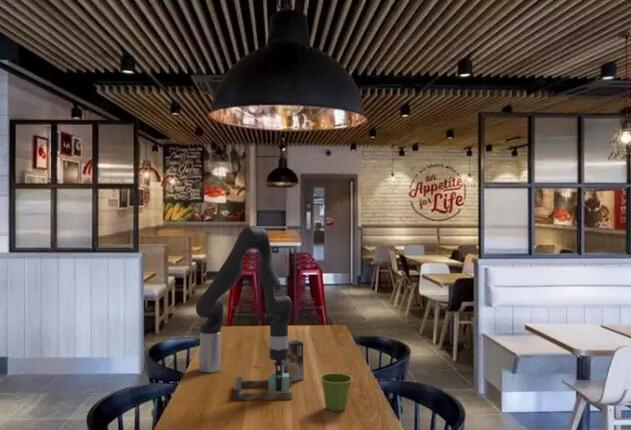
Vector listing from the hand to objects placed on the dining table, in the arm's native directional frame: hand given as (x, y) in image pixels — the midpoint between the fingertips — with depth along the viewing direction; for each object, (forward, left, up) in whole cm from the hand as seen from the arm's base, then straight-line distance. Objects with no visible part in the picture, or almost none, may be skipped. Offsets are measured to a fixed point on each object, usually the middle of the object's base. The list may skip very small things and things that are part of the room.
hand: (278, 387), depth 226 cm
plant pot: (+21, -19, -2) cm, 28 cm away
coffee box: (+5, +17, -2) cm, 18 cm away
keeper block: (0, 0, -2) cm, 2 cm away
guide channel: (-6, 0, -2) cm, 6 cm away
